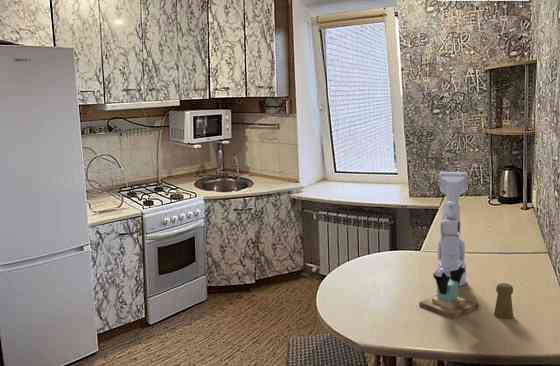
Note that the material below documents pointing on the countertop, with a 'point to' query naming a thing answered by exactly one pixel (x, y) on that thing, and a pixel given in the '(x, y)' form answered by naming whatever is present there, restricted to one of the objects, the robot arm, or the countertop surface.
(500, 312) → the salt shaker
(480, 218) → the countertop surface
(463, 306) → the walnut stand
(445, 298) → the teal block
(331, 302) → the countertop surface
